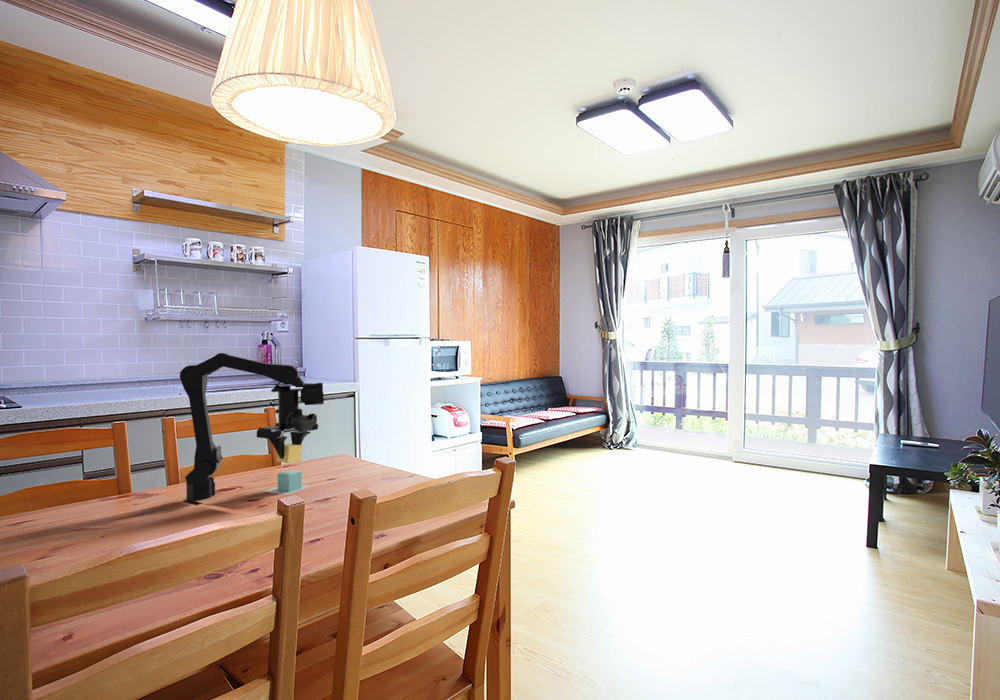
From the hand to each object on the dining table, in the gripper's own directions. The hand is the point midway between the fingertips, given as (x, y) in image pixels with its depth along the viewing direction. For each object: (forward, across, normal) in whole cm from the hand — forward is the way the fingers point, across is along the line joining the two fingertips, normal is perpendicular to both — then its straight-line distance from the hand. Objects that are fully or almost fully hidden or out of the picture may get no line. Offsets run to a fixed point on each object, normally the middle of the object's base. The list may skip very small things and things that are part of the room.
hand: (289, 456), depth 155 cm
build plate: (+11, 0, +1) cm, 11 cm away
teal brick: (+10, 0, 0) cm, 10 cm away
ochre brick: (+1, 0, 0) cm, 1 cm away
